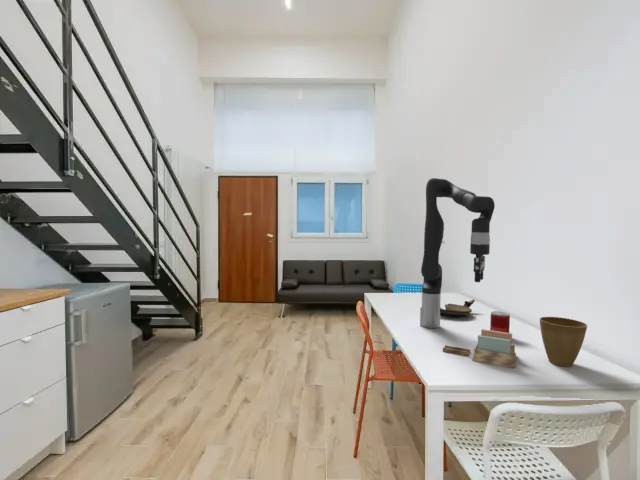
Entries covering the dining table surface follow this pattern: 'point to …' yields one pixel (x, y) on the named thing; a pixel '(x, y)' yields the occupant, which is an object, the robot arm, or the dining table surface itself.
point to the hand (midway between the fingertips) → (478, 280)
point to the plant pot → (562, 339)
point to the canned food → (500, 321)
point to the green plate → (494, 344)
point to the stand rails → (456, 350)
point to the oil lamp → (457, 309)
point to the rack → (495, 357)
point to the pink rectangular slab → (497, 335)
